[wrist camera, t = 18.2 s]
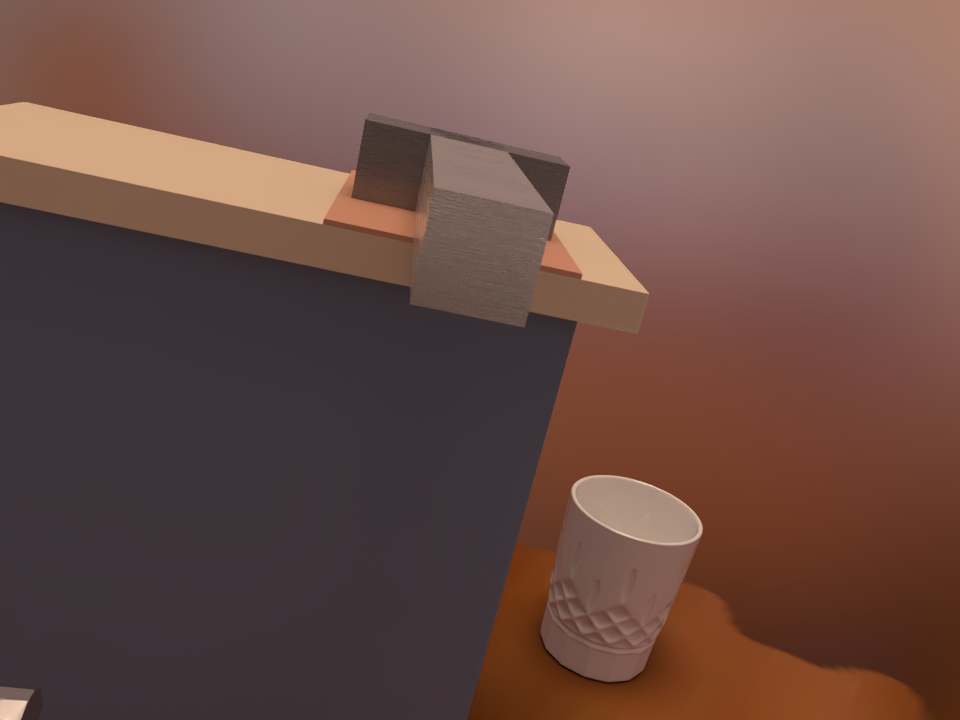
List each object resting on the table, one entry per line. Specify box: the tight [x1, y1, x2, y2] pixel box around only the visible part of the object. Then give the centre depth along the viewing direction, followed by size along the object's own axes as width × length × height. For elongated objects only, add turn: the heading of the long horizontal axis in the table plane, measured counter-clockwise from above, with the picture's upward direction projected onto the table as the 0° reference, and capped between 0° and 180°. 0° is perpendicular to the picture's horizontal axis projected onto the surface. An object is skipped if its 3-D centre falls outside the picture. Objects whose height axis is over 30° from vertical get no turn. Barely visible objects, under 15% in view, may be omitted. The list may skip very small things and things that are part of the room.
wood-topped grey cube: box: [0, 102, 649, 720], centre depth 39 cm, size 26×12×26 cm, turn 93°
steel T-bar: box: [351, 114, 570, 328], centre depth 30 cm, size 8×16×3 cm, turn 3°
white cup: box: [540, 475, 703, 682], centre depth 54 cm, size 8×8×10 cm
